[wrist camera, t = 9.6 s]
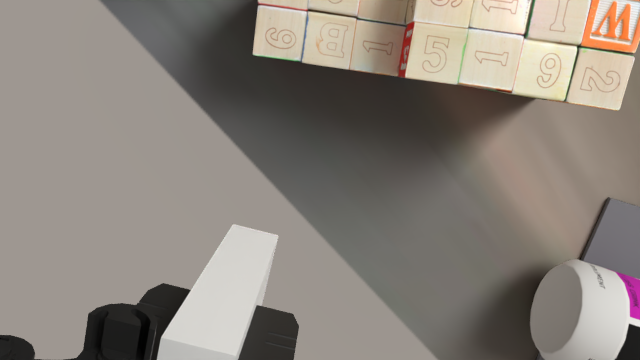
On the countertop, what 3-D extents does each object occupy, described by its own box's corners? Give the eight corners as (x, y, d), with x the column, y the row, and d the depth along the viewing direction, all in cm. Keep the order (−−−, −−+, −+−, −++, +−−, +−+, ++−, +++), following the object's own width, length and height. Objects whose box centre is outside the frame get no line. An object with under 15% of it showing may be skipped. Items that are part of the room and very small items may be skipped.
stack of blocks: (270, 57, 40) (239, 53, 28) (281, -27, 38) (252, -68, 26) (538, 98, 40) (623, 113, 28) (558, 16, 38) (657, -7, 26)
